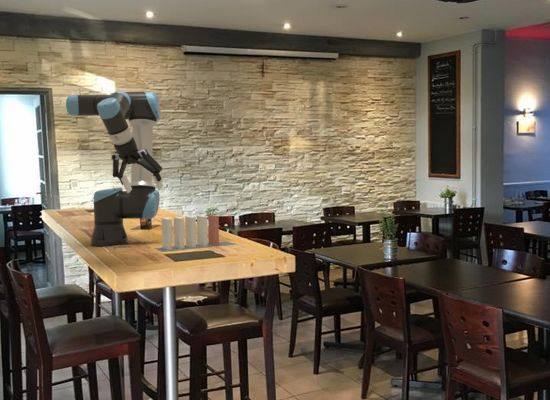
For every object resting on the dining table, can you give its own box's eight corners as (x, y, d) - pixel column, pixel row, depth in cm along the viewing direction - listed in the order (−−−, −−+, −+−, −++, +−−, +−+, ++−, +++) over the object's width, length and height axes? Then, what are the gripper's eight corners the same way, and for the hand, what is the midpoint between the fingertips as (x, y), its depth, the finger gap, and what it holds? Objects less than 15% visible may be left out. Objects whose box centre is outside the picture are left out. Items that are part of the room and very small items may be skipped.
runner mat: (153, 249, 242) (153, 248, 242) (225, 242, 259) (225, 241, 259) (162, 253, 234) (162, 251, 234) (236, 245, 251) (236, 244, 250)
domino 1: (168, 250, 237) (167, 219, 236) (162, 248, 242) (161, 217, 241) (172, 249, 238) (171, 219, 237) (166, 247, 243) (166, 217, 242)
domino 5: (214, 245, 248) (214, 216, 247) (208, 243, 253) (208, 214, 252) (218, 245, 249) (218, 215, 247) (212, 243, 254) (212, 214, 253)
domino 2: (180, 249, 240) (179, 218, 239) (174, 247, 245) (173, 217, 244) (184, 248, 241) (183, 218, 240) (178, 246, 246) (177, 216, 245)
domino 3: (192, 247, 242) (191, 217, 241) (185, 245, 248) (185, 216, 246) (196, 247, 243) (195, 217, 242) (190, 245, 248) (189, 215, 247)
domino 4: (203, 246, 245) (203, 216, 244) (197, 244, 250) (196, 215, 249) (207, 246, 246) (207, 216, 245) (201, 244, 251) (200, 215, 250)
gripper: (89, 149, 221) (112, 197, 232) (148, 141, 212) (170, 192, 223) (99, 139, 227) (121, 186, 238) (157, 131, 218) (178, 181, 229)
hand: (145, 189), depth 230 cm, fingers open, 13 cm apart
